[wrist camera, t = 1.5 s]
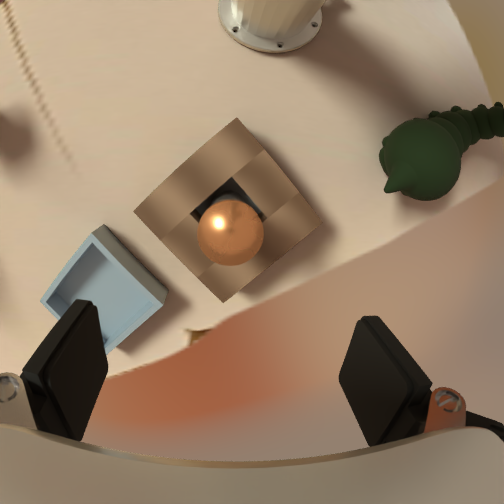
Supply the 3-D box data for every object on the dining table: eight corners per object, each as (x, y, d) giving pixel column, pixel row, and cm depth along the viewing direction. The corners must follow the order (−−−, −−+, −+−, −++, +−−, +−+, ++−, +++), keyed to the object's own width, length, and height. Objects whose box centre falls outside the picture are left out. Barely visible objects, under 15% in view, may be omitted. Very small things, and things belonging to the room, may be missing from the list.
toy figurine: (447, 91, 33) (330, 150, 33) (543, 81, 15) (447, 147, 15) (467, 145, 36) (361, 217, 36) (561, 154, 18) (473, 263, 18)
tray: (103, 224, 33) (91, 232, 30) (168, 290, 37) (163, 305, 33) (52, 288, 35) (39, 301, 32) (109, 343, 39) (101, 359, 35)
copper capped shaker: (230, 176, 32) (234, 187, 22) (260, 210, 34) (277, 237, 23) (195, 206, 33) (183, 232, 22) (225, 239, 34) (227, 278, 24)
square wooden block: (234, 122, 31) (236, 117, 26) (309, 212, 36) (322, 222, 31) (145, 202, 33) (133, 211, 28) (222, 283, 38) (223, 303, 33)
